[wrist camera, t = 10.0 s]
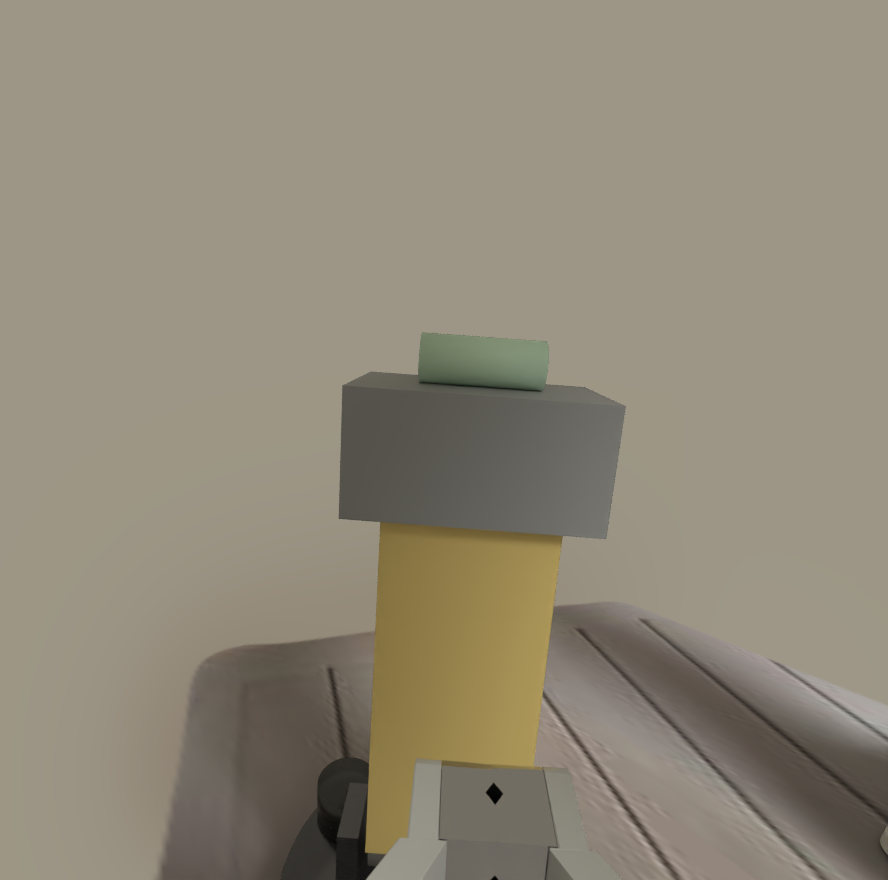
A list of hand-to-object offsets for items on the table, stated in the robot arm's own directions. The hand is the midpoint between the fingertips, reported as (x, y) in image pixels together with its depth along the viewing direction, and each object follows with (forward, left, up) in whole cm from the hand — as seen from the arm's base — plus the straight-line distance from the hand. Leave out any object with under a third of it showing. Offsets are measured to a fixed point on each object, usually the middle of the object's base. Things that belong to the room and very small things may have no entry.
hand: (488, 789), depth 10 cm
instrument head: (-9, -10, -17) cm, 22 cm away
